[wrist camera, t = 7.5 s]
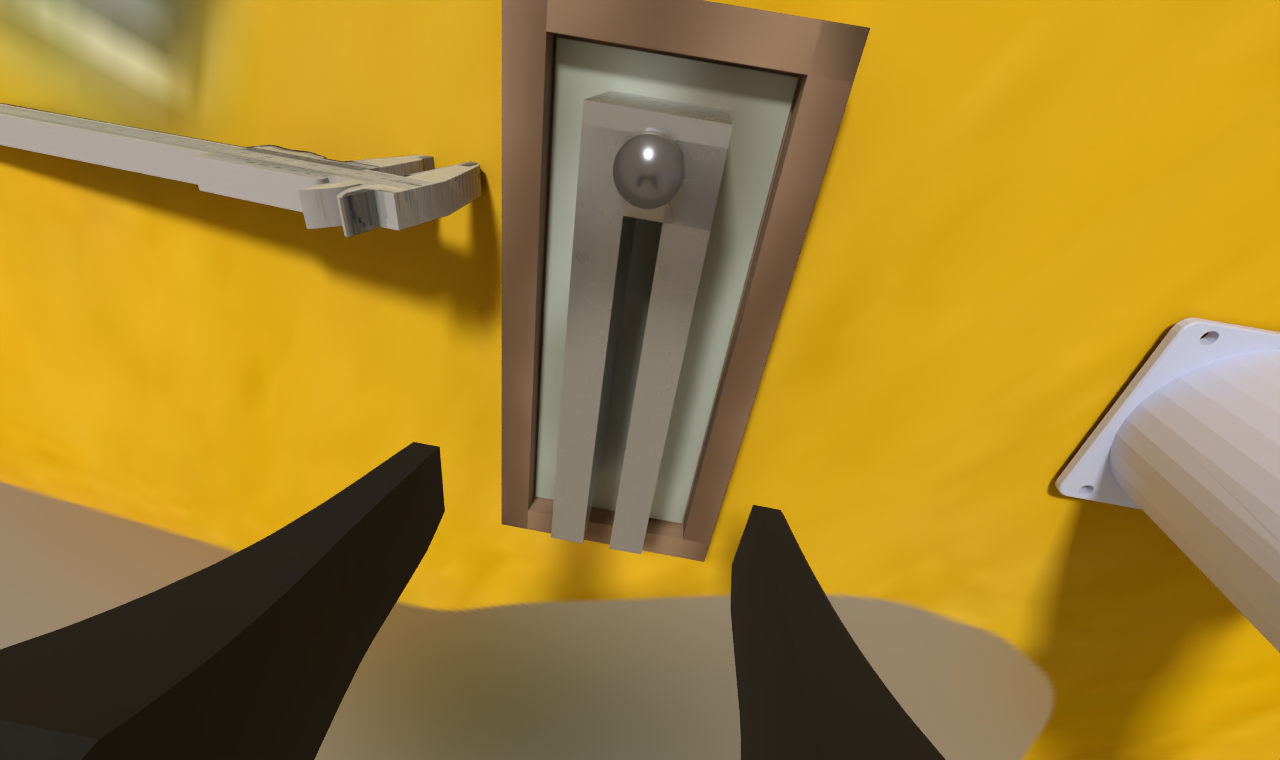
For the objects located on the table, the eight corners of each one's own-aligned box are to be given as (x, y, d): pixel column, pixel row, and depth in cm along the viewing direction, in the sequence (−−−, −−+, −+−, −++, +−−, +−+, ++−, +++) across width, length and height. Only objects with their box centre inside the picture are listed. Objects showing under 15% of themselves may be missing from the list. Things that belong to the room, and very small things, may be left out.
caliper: (486, 159, 18) (394, 200, 13) (488, 192, 19) (400, 245, 13) (-65, 92, 19) (-366, 105, 14) (-47, 126, 20) (-328, 151, 14)
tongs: (727, 109, 15) (733, 127, 11) (651, 480, 23) (639, 567, 19) (611, 90, 15) (578, 101, 11) (574, 466, 23) (546, 550, 19)
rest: (851, 31, 15) (870, 27, 13) (704, 528, 26) (703, 561, 24) (525, -23, 15) (501, -33, 13) (515, 493, 26) (501, 523, 24)
